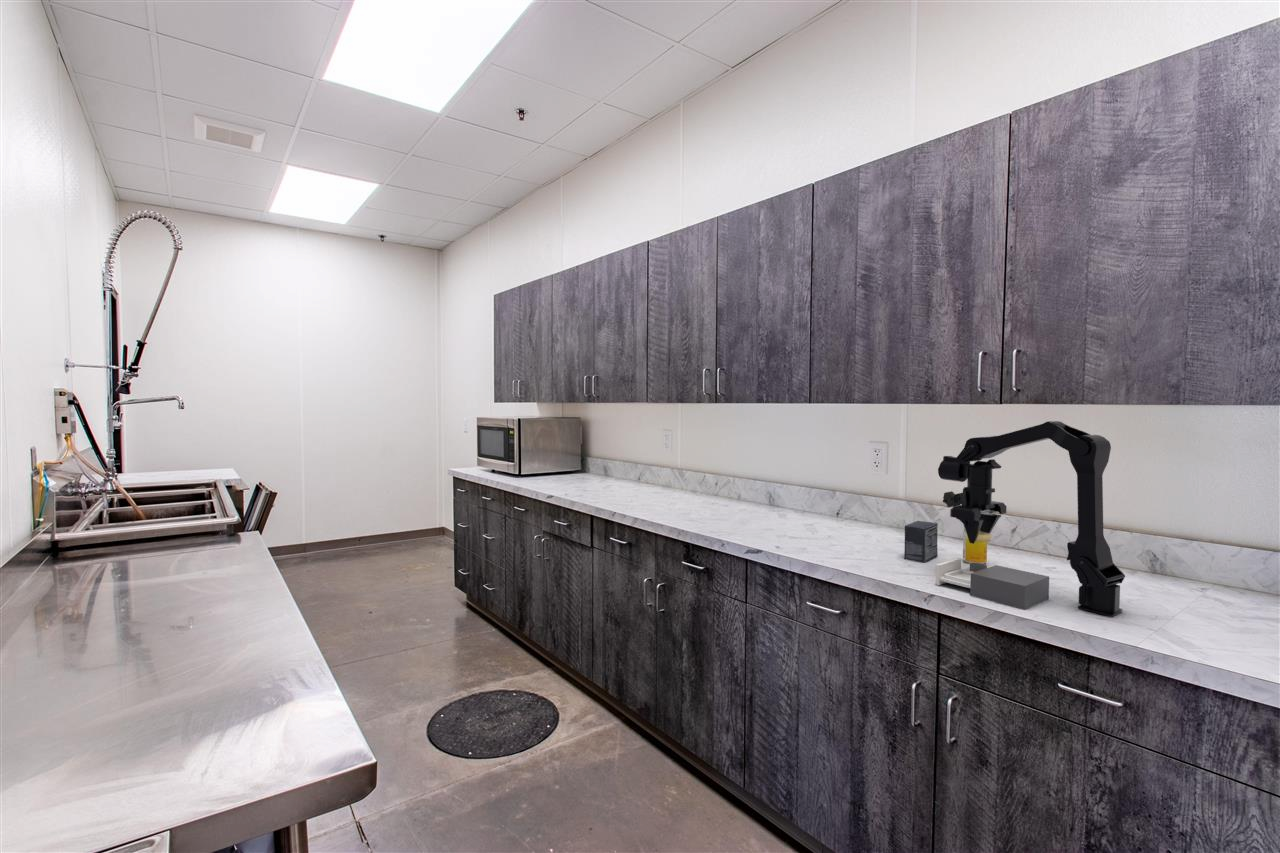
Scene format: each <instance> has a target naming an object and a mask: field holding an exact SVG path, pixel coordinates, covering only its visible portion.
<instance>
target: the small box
mask: <svg viewBox="0 0 1280 853" xmlns="http://www.w3.org/2000/svg"><path fill="white" fill-rule="evenodd" d="M938 527H939V526H938V522H931V521H922V520H916V521H914V522H911V523H908V524H906V525H904V554H903V555H904V560H906V559H907V560H908V561H912V562H918V563H924V564H926V563H928V562H930V561H931V560H933V559H935V558H937V557H938Z"/></svg>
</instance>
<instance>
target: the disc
mask: <svg viewBox="0 0 1280 853" xmlns="http://www.w3.org/2000/svg"><path fill="white" fill-rule="evenodd" d="M965 539H967V540H969V539H968V536H967V533H966V532H965ZM976 541H977V542H987V543H989V542H991V541H992V533H990V534H989V533H985V532H979V533H978V536H977V539H976Z"/></svg>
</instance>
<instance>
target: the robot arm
mask: <svg viewBox="0 0 1280 853" xmlns="http://www.w3.org/2000/svg"><path fill="white" fill-rule="evenodd" d="M1046 440H1050V441H1052V442H1053V443H1055V445H1057V446H1059V447H1060V448H1062V449H1063V450H1066V451H1067V452H1068V457H1069V460H1070V463H1071V465H1072V467H1073V469H1074V471H1075V472H1076V483H1077V484H1076V485H1077V486H1076V488H1077V489H1076V492H1077V493H1076V494H1077V496H1076V497H1077V537H1076V539H1075V540H1074V541H1068V542H1067V543H1066V545H1067V546H1066V547H1067V558H1066V560H1067V561H1069V564H1070V567H1071V569H1072V570H1074V572H1075V573H1076V576H1077V579H1078V582H1079V584H1081V585H1080V586H1078V604H1079V605H1078V606H1077V608H1078V610H1079V609H1080V610H1084V611H1086V612H1091V613H1095V614H1100V615H1104V616H1107V617H1115V616H1116V615H1118V614H1120V613H1121V612H1123V608H1120V605H1121V604H1120V601H1121V600H1120V598H1121V585H1120V584H1123V582H1124V580H1125V578H1126V575H1125V573H1124V572H1123V571H1122V570H1120V568H1119V567H1118V566H1117V565H1116V564H1115V563H1114V561H1113V555H1112V552H1111V548H1110V546H1109V544H1108V542H1107V540H1106V539H1105V536H1104V496H1103V494H1104V492H1103V486H1104V485H1103V474H1104V472H1105V470H1106V467H1107V466H1108V463H1109V460H1110V454H1111V449H1112V447H1111V443H1110V440H1108V439H1107V438H1106V437H1104V436H1102V435H1100V434H1099V435H1098V434H1090V433H1088V432H1086V431H1083V430H1081V429H1078V428H1076V427H1073V426H1070V425H1068V424H1066V423H1064V422H1062V421H1060V420H1052V421H1051V420H1050V421H1048V420H1047V421H1045V422H1043V423H1041V424H1037V425H1033V426H1029V427H1027V428H1022V429H1017V430H1015V431H1010V432H1008V433H1004V434H999V435H990V436H980V437H978V436H977V437H971V438H968V439H967V440H966V441H965V444H964V448H962V449H961V451H960V452H959V454H958V455H957V456H953V455H944V456H943V459H942V461H941V462H940V463H939V465H938V468H937V474H938V476H939V478H940V479H941V480H946V481H953V482H960V483H964V482H967V484H966V486H964V487H963V489H962V492H959V493H955V492H953V491H952V490H951V491H947V492H944V493H943V497H942V498H943V499H942V503H944V504H946V506H947V508H950V510H949V512H950V514H949V517H950V518H954V519H957V520H959V522H961V523H962V524H963V528H964V527H965V530H966V533H967V536H968V539H969V542H970V543H972V544H974V543H975V541H976V539H977V536H978V533H979V531H980V532H985V533H989V534H992V533H991V532H992V531H993V529H994V527H995V526H996V525H997V523H998V521H999V519H1000V518H1002V515H1004V514H1006V513H1007V505H1006V504H1005V503H1004V502H1002V501H993V500H992V499H993V498H992V497H993V496H992V494H993V493H995V492H996V488H995V487H993V470H998V469H1001V468H1002V466H1001V464H999V463H998V462H997V461H996V460H995V459H994V457H996V456H998V455H1001V454H1003V453H1004V452H1006V451H1007V450H1010V449H1014V448H1018V447H1021V446H1027V445H1030V444H1033V443H1038V442H1041V441H1046ZM991 458H993V459H991ZM983 459H984V460H985V459H988V460H987V461H982V460H983ZM971 462H974V463H971ZM997 512H998V513H999V514H997Z"/></svg>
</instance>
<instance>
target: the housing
mask: <svg viewBox="0 0 1280 853" xmlns="http://www.w3.org/2000/svg"><path fill="white" fill-rule="evenodd" d="M969 589H970V592H969V593H970V594H969V595H970V596H972V597H975V598H980V599H983V600H987V601H991V602H995V603H999V604H1002V605H1006V606H1010V607H1013V608H1018V609H1020V610H1021V609H1022V610H1026V609H1030V608H1031V607H1033V606H1036V605H1037V604H1040V603H1042V602H1044V600H1045V601H1046V599H1047V600H1049V599H1048V598H1050V576H1049V575H1045V574H1039V573H1034V572H1029V571H1025V570H1021V569H1016V568H1012V567H1011V568H1010V567H1008V566H1007V567H1006V566H1001V565H996V564H995V565H992V566H989V567H987V568H986V569H983V570H980V571H977V572H974V573H971V584H970V588H969ZM1035 604H1036V605H1035Z"/></svg>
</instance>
